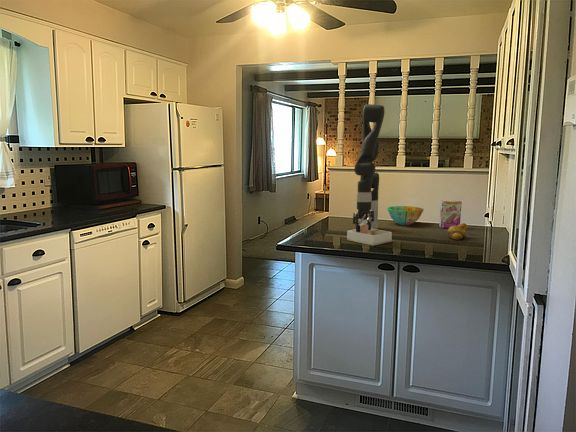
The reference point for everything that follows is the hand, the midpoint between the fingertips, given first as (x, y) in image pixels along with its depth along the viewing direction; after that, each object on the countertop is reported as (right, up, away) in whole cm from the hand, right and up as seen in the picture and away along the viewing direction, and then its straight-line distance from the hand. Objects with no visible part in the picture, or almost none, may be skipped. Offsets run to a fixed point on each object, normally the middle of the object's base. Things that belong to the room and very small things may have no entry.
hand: (363, 231), depth 242 cm
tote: (+3, -5, -2) cm, 6 cm away
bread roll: (+50, -4, +4) cm, 51 cm away
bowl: (+33, +3, +46) cm, 57 cm away
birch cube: (+5, -5, -5) cm, 9 cm away
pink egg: (0, -4, +1) cm, 4 cm away
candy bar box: (+57, +1, +33) cm, 66 cm away
